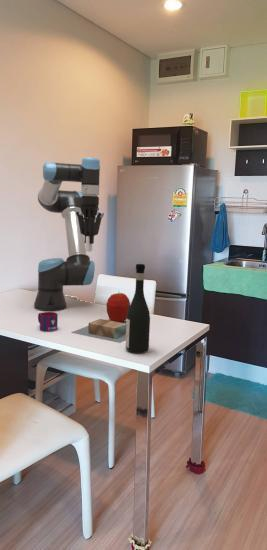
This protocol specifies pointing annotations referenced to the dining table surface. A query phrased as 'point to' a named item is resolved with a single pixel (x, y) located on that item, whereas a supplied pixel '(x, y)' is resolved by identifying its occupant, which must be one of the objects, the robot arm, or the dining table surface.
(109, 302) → the apple
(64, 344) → the dining table surface
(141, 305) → the wine bottle
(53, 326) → the mug
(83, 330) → the mat
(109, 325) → the block
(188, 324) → the dining table surface
